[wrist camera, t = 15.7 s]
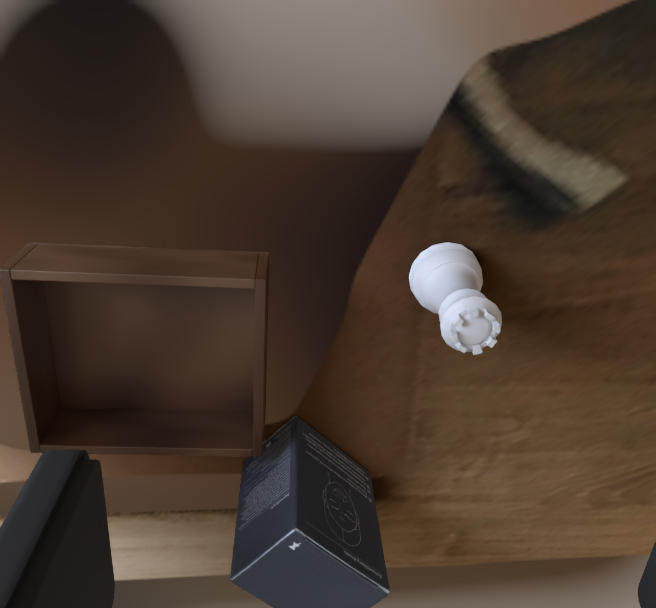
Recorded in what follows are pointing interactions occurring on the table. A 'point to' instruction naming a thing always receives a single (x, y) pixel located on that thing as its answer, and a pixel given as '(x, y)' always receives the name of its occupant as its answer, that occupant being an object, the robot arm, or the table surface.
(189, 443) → the tray
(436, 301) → the rook chess piece
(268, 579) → the box
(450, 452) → the table surface
